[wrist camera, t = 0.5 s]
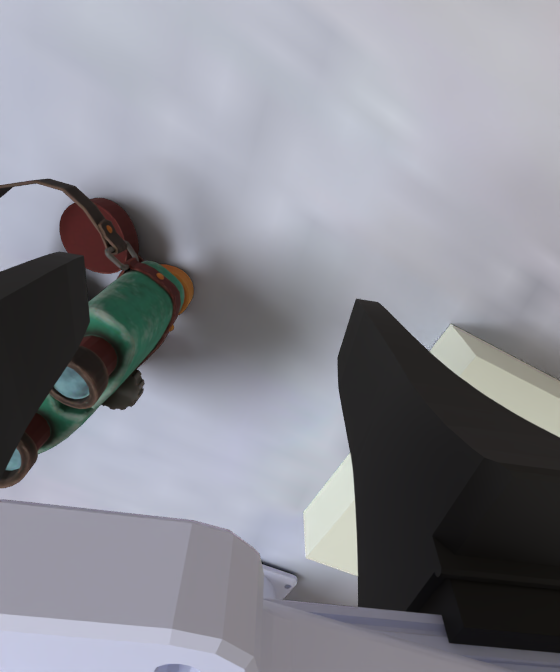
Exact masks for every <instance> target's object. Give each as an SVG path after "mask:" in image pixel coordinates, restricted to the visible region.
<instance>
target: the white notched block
mask: <svg viewBox="0 0 560 672" xmlns="http://www.w3.org/2000/svg"><path fill="white" fill-rule="evenodd" d="M429 352H430V353H432V354H433V355H434V356H435V357H436V358H437V359H438V360H440V361H441V362H442V363H443V364H444V365H445V366H447V367H448V368H449V369H450V370H452V371H453V372H454V373H455V374H457V375H458V376H459V377H461V378H462V379H463V380H465V381H466V382H467V383H469V384H470V385H472V386H473V387H474V388H476V389H477V390H479V391H480V392H481V393H483V394H484V395H486V396H487V397H489V398H491V399H492V400H494V401H495V402H497V403H499V404H500V405H502V406H504V407H505V408H507V409H508V410H510V411H512V412H513V413H515V414H517V415H519V416H520V417H522V418H524V419H526V420H527V421H529V422H531V423H533V424H535V425H537V426H539V427H541V428H543V429H545V430H546V431H548V432H550V433H552V434H554V435H556V436H558V437H560V381H559V380H557V379H555V378H553V377H551V376H549V375H547V374H546V373H544V372H542V371H540V370H538V369H536V368H534V367H532V366H530V365H528V364H526V363H525V362H523V361H521V360H519V359H517V358H515V357H513V356H511V355H509V354H507V353H505V352H504V351H502V350H500V349H498V348H496V347H494V346H492V345H490V344H488V343H486V342H484V341H483V340H481V339H479V338H477V337H475V336H473V335H471V334H469V333H467V332H465V331H463V330H462V329H460V328H458V327H456V326H454V325H452V324H450V326H449V327H448V328H447V329H446V331H445V332H444V333H443V335H442V336H441V337H440V338H439V340H438V341H437V342H436V343H435V345H434V346H433V347H432V349H431V350H430V351H429ZM303 518H304V536H305V554H306V558H307V559H310V560H313V561H316V562H318V563H321V564H324V565H327V566H330V567H333V568H335V569H338V570H341V571H344V572H347V573H350V574H352V575H355V576H358V560H357V531H356V510H355V494H354V479H353V468H352V461H351V454H350V453H349V455H348V456H347V457H346V458H345V460H344V461H343V462H342V464H341V465H340V466H339V467H338V469H337V470H336V471H335V472H334V474H333V475H332V476H331V478H330V479H329V480H328V481H327V483H326V484H325V485H324V487H323V488H322V489H321V490H320V492H319V493H318V494H317V495H316V497H315V498H314V499H313V501H312V502H311V503H310V504H309V506H308V507H307V508H306V509H305V511H304V512H303Z"/></svg>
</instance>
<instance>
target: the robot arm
mask: <svg viewBox="0 0 560 672" xmlns="http://www.w3.org/2000/svg"><path fill="white" fill-rule="evenodd" d="M89 323H90V316H89V305H88V294H87V283H86V272H85V261H84V255H77V254H71V253H65V252H56V253H52V254H48V255H45V256H42V257H39V258H36V259H34V260H31V261H28V262H25V263H23V264H20V265H17V266H14V267H12V268H9V269H6V270H4V271H1V272H0V480H1V478H2V476H3V474H4V472H5V470H6V468H7V465H8V463H9V461H10V459H11V457H12V455H13V453H14V452H15V450H16V448H17V446H18V444H19V442H20V440H21V438H22V436H23V434H24V432H25V430H26V428H27V427H28V425H29V423H30V422H31V420H32V418H33V417H34V415H35V413H36V412H37V410H38V409H39V408H40V406H41V405H42V403H43V402H44V400H45V399H46V397H47V396H48V394H49V393H50V391H51V390H52V388H53V387H54V385H55V384H56V382H57V381H58V379H59V378H60V376H61V375H62V373H63V372H64V370H65V369H66V367H67V366H68V364H69V362H70V361H71V359H72V358H73V356H74V355H75V353H76V352H77V350H78V347H79V345H80V343H81V341H82V339H83V337H84V334H85V332H86V330H87V328H88V325H89ZM338 387H339V394H340V399H341V405H342V411H343V416H344V422H345V427H346V432H347V438H348V443H349V448H350V454H351V461H352V468H353V479H354V494H355V510H356V531H357V560H358V607H352V606H342V605H331V604H321V603H311V602H300V601H290V600H283V599H284V598H285V597H286V596H287V595H288V594H289V592H290V591H291V590H292V589H293V588H294V587H295V585H296V584H297V577H296V576H295V575H293V574H290V573H287V572H284V571H281V570H278V569H275V568H272V567H269V566H266V565H263V564H262V563H261V558H260V554H259V553H258V552H257V551H256V550H255V549H254V548H253V547H252V546H250V545H249V544H248V543H246V542H245V541H244V540H242V539H241V538H240V537H238V536H237V535H236V534H234V533H233V532H232V531H230V530H228V529H224V528H220V527H217V526H213V525H209V524H205V523H202V522H198V521H194V520H186V519H177V518H168V517H159V516H150V515H141V514H132V513H123V512H114V511H104V510H95V509H86V508H77V507H68V506H59V505H50V504H41V503H32V502H23V501H13V500H4V499H2V500H0V672H560V437H558V436H556V435H554V434H552V433H550V432H548V431H546V430H545V429H543V428H541V427H539V426H537V425H535V424H533V423H531V422H529V421H527V420H526V419H524V418H522V417H520V416H519V415H517V414H515V413H513V412H512V411H510V410H508V409H507V408H505V407H504V406H502V405H500V404H499V403H497V402H495V401H494V400H492V399H491V398H489V397H487V396H486V395H484V394H483V393H481V392H480V391H479V390H477V389H476V388H474V387H473V386H472V385H470V384H469V383H467V382H466V381H465V380H463V379H462V378H461V377H459V376H458V375H457V374H455V373H454V372H453V371H452V370H450V369H449V368H448V367H447V366H445V365H444V364H443V363H442V362H441V361H440V360H438V359H437V358H436V357H435V356H434V355H433V354H432V353H430V352H429V351H428V350H427V349H426V348H425V347H424V346H423V345H422V344H421V343H420V342H419V341H418V340H416V339H415V338H414V337H413V336H412V335H411V334H410V333H409V332H408V331H407V330H406V329H405V328H404V327H403V326H402V325H401V324H400V323H399V322H398V321H397V320H396V319H395V318H394V317H393V316H392V315H391V314H390V313H389V312H388V311H387V310H386V309H385V308H384V307H383V306H382V305H381V304H380V303H378V302H374V301H367V300H361V299H356V301H355V304H354V307H353V310H352V313H351V316H350V320H349V323H348V326H347V329H346V332H345V336H344V339H343V342H342V345H341V348H340V351H339V355H338Z"/></svg>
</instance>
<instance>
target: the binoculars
mask: <svg viewBox="0 0 560 672" xmlns="http://www.w3.org/2000/svg"><path fill="white" fill-rule="evenodd" d="M36 183H37V184H40V185H44V186H47V187H51V188H54V189H58V190H61V191H63V192H64V193H65V194H66V195H67V196H68V197H69V198H71V199H72V200H73V201H74V202H75V203H73V204H72V205H70V206H68V208H67V209H66V210H65V211H64V213H63V214H62V216H61V220H60V236H61V240H62V243H63V245H64V247H65V249H66V251H67V252H68V253H71V254H77V255H84V261H85V268H86V269H89V270H91V271H94V272H98V273H102V274H111V273H115V272H118V271H120V270H123V271H122V272H121V273H120V274H119V276H118V278H117V279H116V280H115V281H114V282H113V283H111V284H110V285H109V286H108V287H107V288H105V289H104V290H103V291H102V292H100V293H99V294H98V295H97V296H95V297H94V298H93V299H92V300H90V301H89V302H88V305H89V316H90V323H89V325H88V328H87V330H86V332H85V334H84V337H83V339H82V341H81V343H80V345H79V347H78V350H77V352H76V353H75V355H74V356H73V358H72V359H71V361H70V362H69V364H68V366H67V367H66V369H65V370H64V372H63V373H62V375H61V376H60V378H59V379H58V381H57V382H56V384H55V385H54V387H53V388H52V390H51V391H50V393H49V394H48V396H47V397H46V399H45V400H44V402H43V403H42V405H41V406H40V408H39V409H38V410H37V412H36V413H35V415H34V417H33V418H32V420H31V422H30V423H29V425H28V427H27V428H26V430H25V432H24V434H23V436H22V438H21V440H20V442H19V444H18V446H17V448H16V450H15V452H14V453H13V455H12V457H11V459H10V461H9V463H8V465H7V468H6V470H5V472H4V474H3V476H2V478H1V480H0V488H7V487H10V486H13V485H15V484H17V483H18V482H20V481H21V480H22V479H23V478H24V477H25V475H26V474H27V473H28V471H29V470H30V469H31V467H32V466H33V465H34V463H35V462H36V460H37V457H38V454H40V453H42V452H45V451H47V450H49V449H51V448H53V447H54V446H56V445H57V444H59V443H60V442H62V441H63V440H65V439H66V438H68V437H69V436H70V435H71V434H72V433H73V432H74V431H76V430H77V429H78V428H79V427H80V426H81V425H82V424H83V423H84V422H85V421H86V420H87V419H88V418H89V417H90V416H91V415H92V414H93V413H94V412H95V411H96V409H97V408H98V407H99V406H100V405H103V406H104V405H106V406H108V407H109V408H110V409H114V410H115V409H121V410H124V409H126V408H127V407H128V406H130V407H131V406H133V405H134V404H135V403H136V401H137V400H138V399H139V397H140V396H141V395H142V393H143V391H144V389H143V385H144V380H143V379H142V378H141V372H140V371H139V370H137V368H138V367H139V366H140V365H142V364H143V363H144V362H145V361H146V360H147V359H148V358H149V357H150V356H151V355H152V354H153V353H154V352H155V351H156V350H157V349H158V348H159V347H160V346H161V344H162V343H163V342H164V340H165V338H166V336H167V335H168V333H169V331H172V330H173V329H174V325H173V324H174V322H175V320H176V318H177V317H178V315H180V314H181V313H182V312H183V311H184V310H185V309H186V308H187V306H188V305H189V303H190V302H191V300H192V297H193V294H194V288H193V283H192V281H191V279H190V278H189V276H188V275H187V274H186V273H185V272H184V271H182V270H181V269H179V268H177V267H174V266H170V265H166V264H158V263H156V262H153V261H144V260H143V259H142V258H141V257H140V256H139V255H138V252H139V243H138V237H137V233H136V230H135V228H134V225H133V223H132V221H131V219H130V218H129V216H128V215H127V213H126V212H125V211H124V210H123V209H122V208H121V207H120V206H119V205H118V204H116V203H114V202H113V201H111V200H108V199H105V198H93V199H89V198H88V197H87V196H85V195H84V194H83V193H82V192H81V191H80V190H79V189H78V188H77V187H76V186H73V185H69V184H66V183H62V182H59V181H55V180H52V179H41V180H32V181H25V182H19V183H12V184H5V185H0V198H1V197H2V196H3V195H4V194H5V193H7V192H8V191H9V190H10V189H11V188H12V187H15V186H22V185H29V184H36ZM158 342H159V343H158Z"/></svg>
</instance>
